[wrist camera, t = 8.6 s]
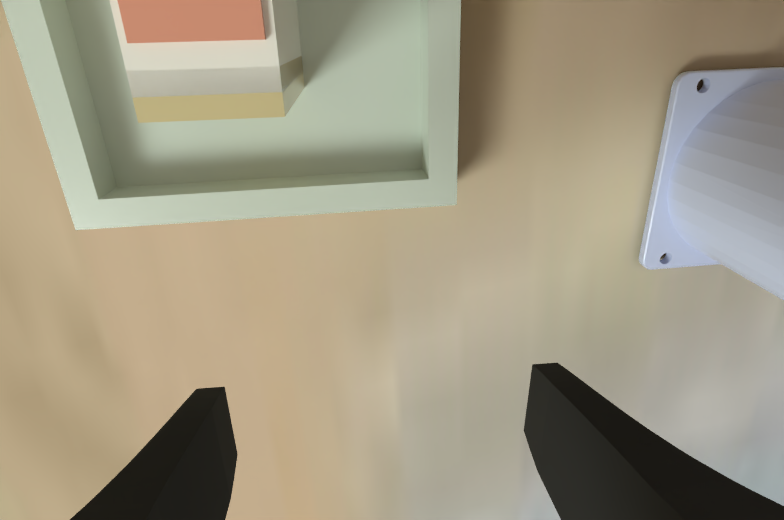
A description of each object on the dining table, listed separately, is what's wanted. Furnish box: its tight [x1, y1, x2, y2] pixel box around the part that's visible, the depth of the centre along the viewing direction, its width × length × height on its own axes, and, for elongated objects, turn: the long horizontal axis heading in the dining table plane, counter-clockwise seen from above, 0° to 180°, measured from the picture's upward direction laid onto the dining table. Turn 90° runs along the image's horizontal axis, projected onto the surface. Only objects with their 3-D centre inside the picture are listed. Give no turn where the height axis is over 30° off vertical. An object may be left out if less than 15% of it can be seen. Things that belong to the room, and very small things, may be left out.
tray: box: [1, 0, 461, 230], centre depth 15 cm, size 13×13×2 cm
